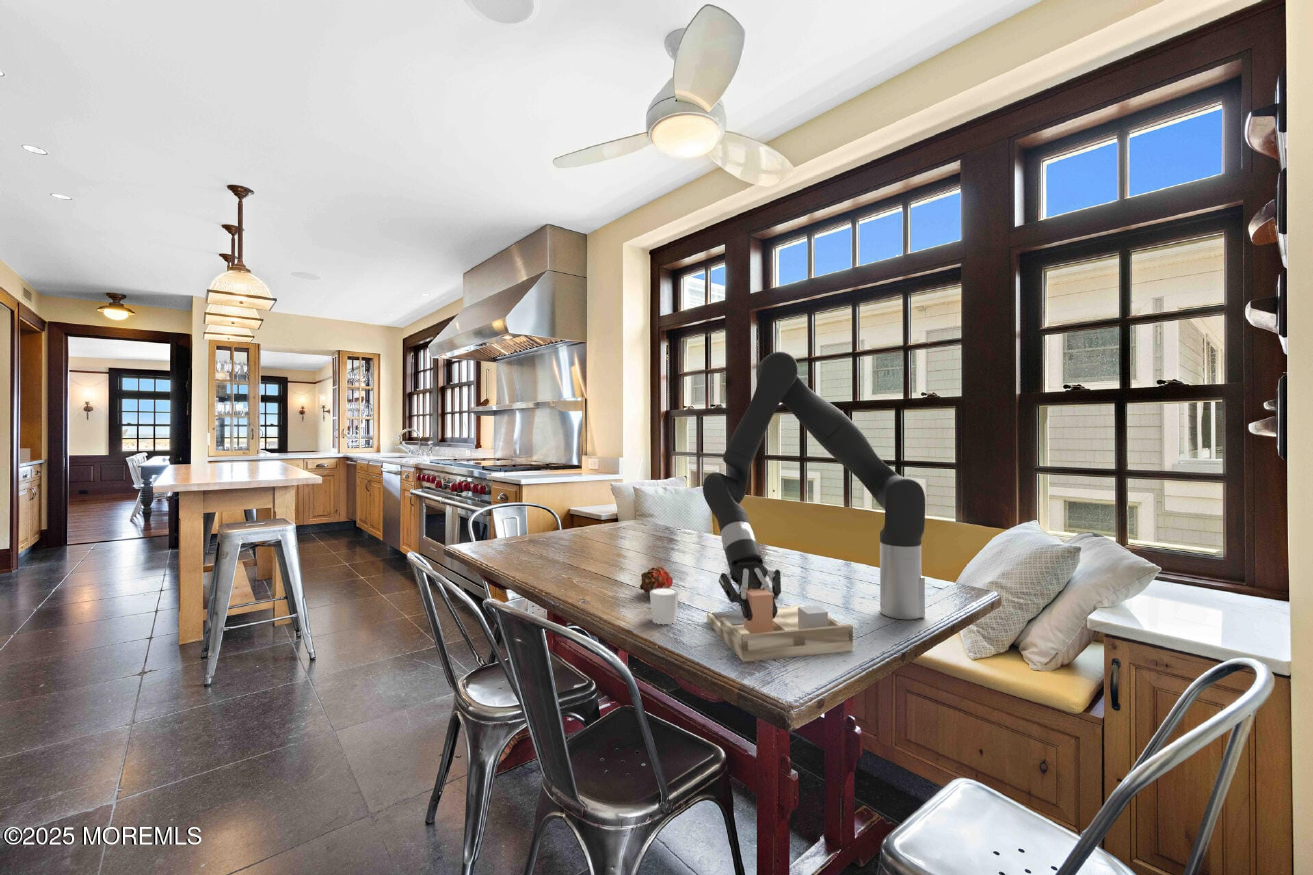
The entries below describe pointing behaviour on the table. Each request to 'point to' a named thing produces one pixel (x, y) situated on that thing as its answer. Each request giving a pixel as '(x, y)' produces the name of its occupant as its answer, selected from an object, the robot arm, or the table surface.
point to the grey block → (812, 617)
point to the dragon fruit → (655, 579)
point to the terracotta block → (760, 611)
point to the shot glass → (664, 605)
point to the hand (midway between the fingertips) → (761, 617)
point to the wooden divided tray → (780, 636)
